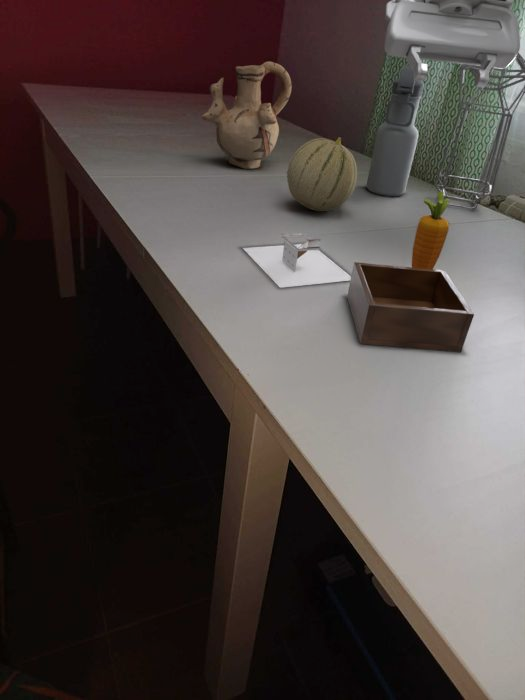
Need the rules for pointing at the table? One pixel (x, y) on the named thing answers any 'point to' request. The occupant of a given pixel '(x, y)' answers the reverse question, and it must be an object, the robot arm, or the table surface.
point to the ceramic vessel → (248, 115)
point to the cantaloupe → (322, 174)
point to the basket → (408, 308)
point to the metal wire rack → (521, 62)
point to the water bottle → (396, 138)
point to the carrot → (430, 235)
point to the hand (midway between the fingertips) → (451, 81)
